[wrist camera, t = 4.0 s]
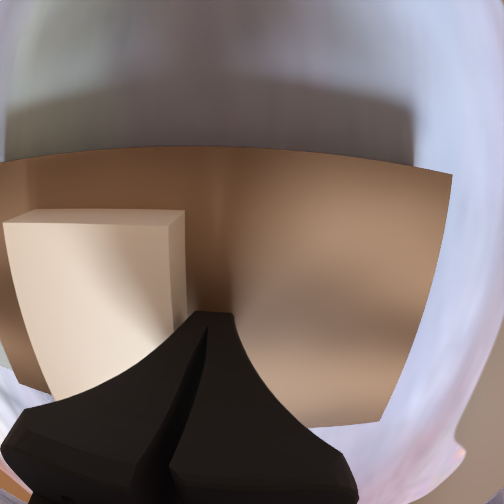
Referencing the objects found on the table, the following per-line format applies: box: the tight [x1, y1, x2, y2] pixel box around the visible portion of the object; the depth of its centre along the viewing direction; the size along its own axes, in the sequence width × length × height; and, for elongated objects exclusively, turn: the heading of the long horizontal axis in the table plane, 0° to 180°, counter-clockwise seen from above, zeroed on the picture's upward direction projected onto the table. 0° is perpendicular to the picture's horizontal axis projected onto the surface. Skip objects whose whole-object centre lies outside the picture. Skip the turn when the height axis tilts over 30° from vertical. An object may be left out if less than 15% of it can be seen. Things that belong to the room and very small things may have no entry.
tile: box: [3, 209, 188, 402], centre depth 10 cm, size 8×6×2 cm
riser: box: [0, 146, 453, 428], centre depth 12 cm, size 12×20×3 cm, turn 87°
